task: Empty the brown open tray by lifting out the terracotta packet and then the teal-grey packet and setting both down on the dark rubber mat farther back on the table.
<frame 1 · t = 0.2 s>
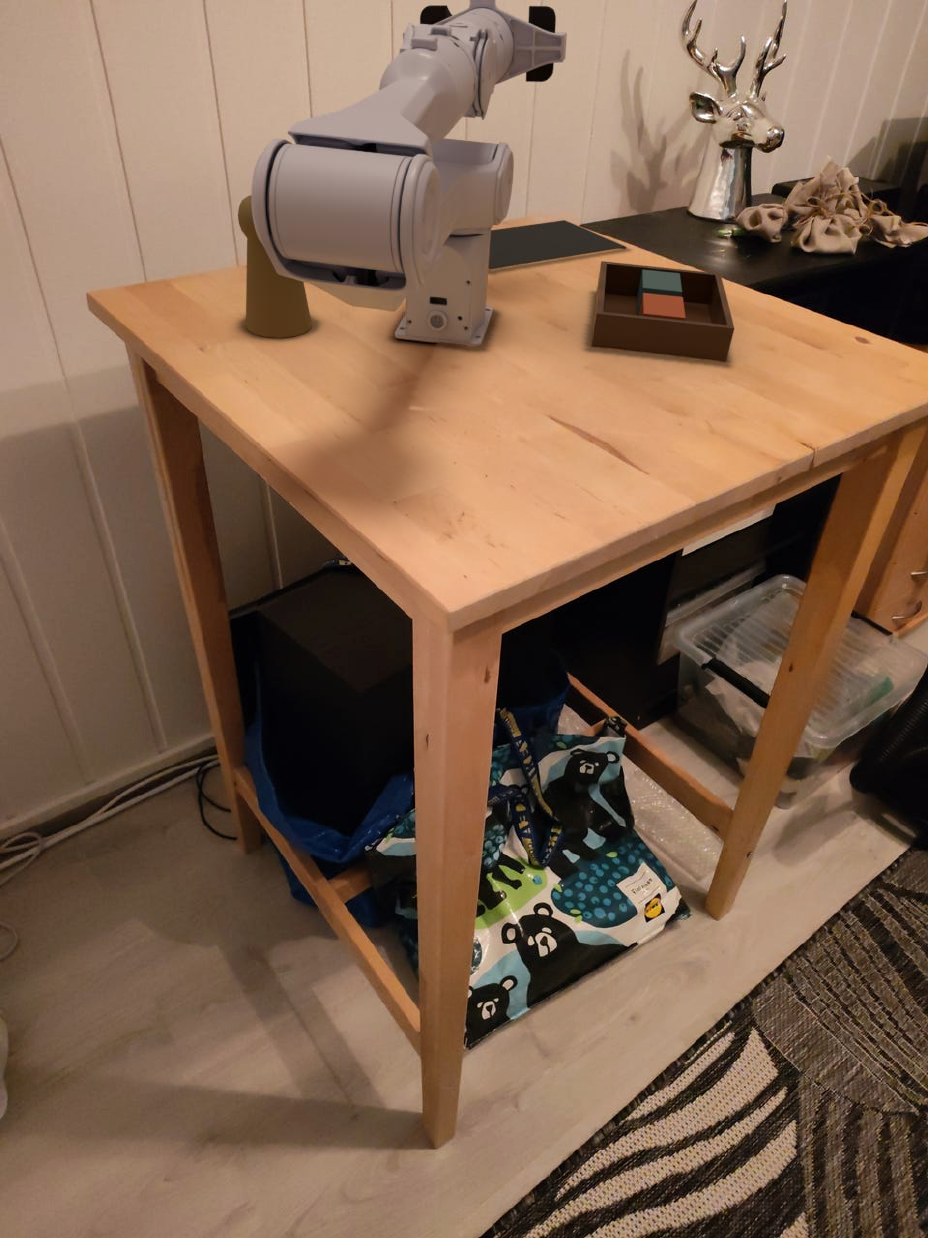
hand: (500, 34, 81), 21 cm above the table, tool horizontal, fingers open, 7 cm apart
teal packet: (655, 310, 84), resting on brown open tray
terracotta packet: (657, 336, 79), resting on brown open tray
cork: (279, 326, 77), on the table
brown open tray: (655, 326, 82), on the table
mat: (530, 245, 100), on the table
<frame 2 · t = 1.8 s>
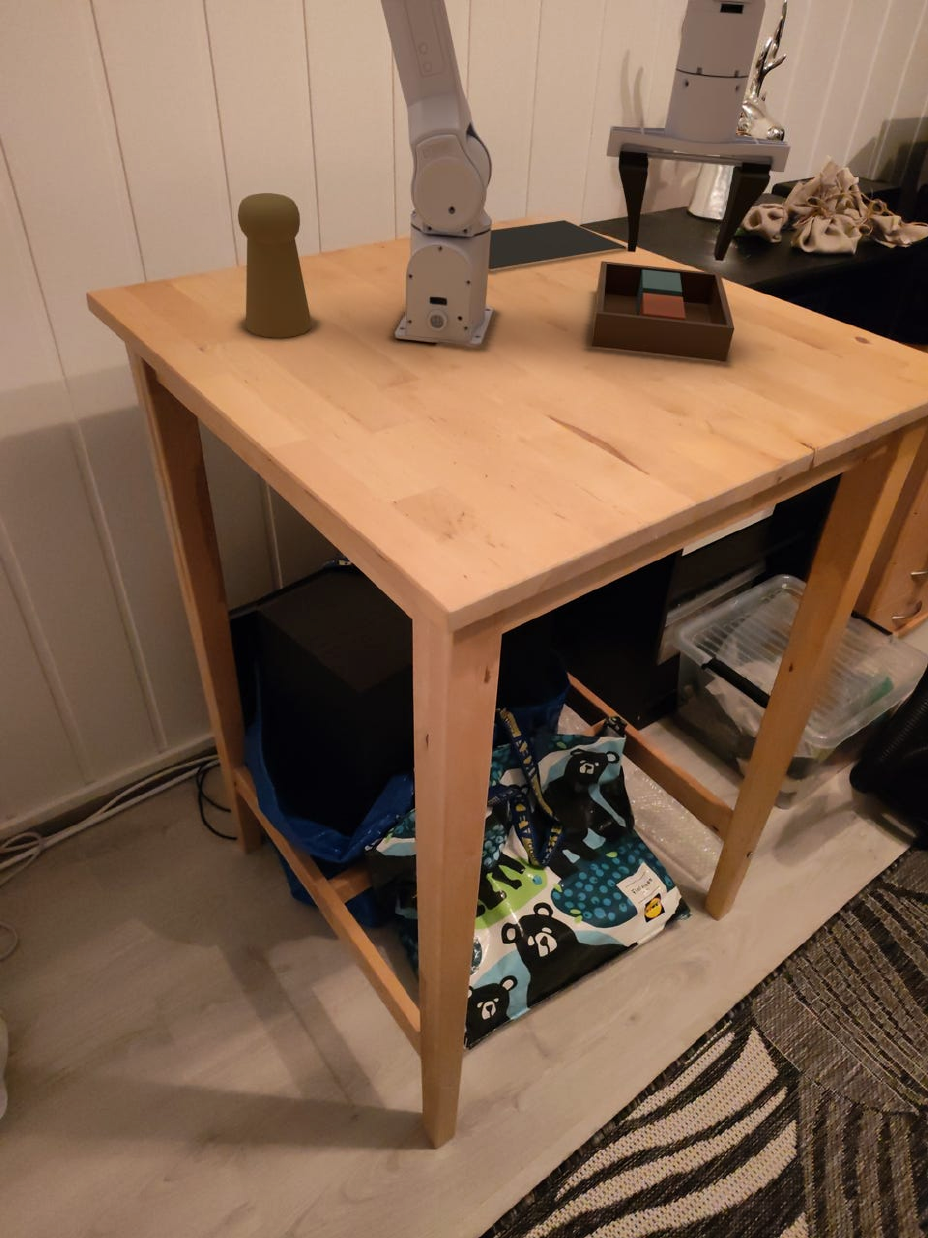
hand: (674, 252, 74), 8 cm above the table, tool pointing down, fingers open, 7 cm apart
nothing on the table moved.
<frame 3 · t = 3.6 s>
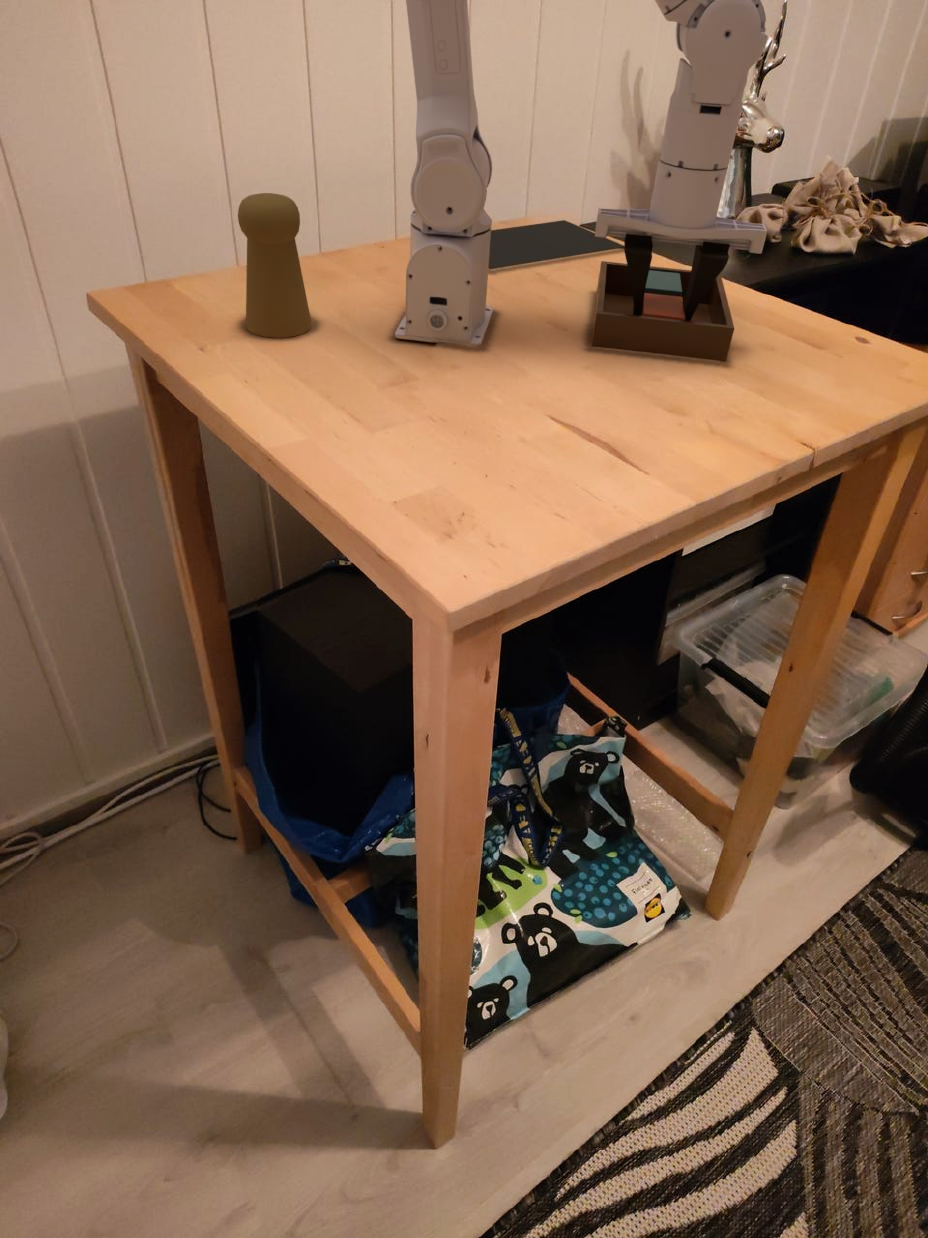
hand: (659, 323, 78), 2 cm above the table, tool pointing down, fingers closed on terracotta packet, 4 cm apart
terracotta packet: (656, 336, 79), resting on brown open tray, touching gripper
everything else where it was.
when the fingers open (2 cm above the table, at t = 8.4 s): terracotta packet stays where it is, resting on mat.
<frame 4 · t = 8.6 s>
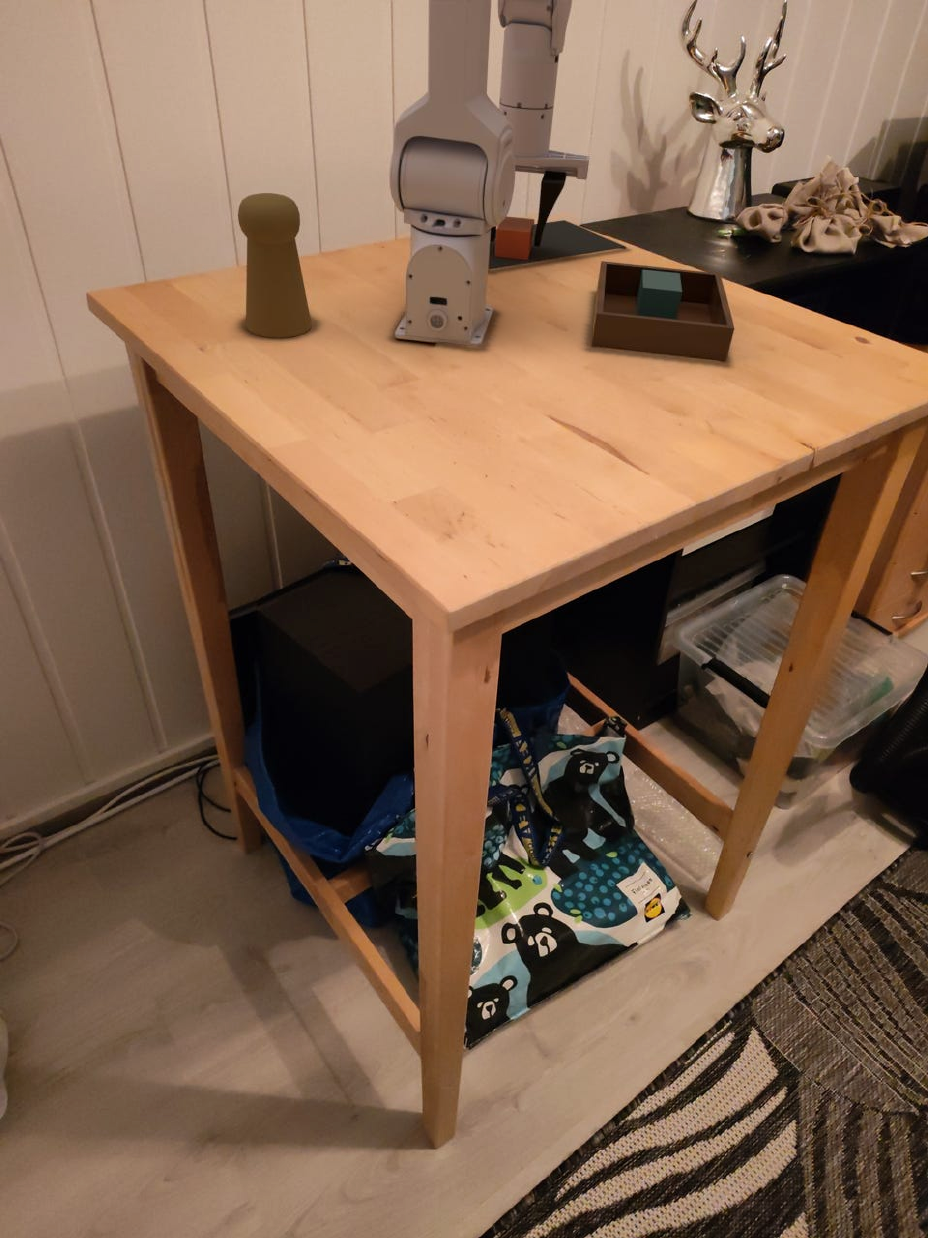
hand: (514, 241, 96), 2 cm above the table, tool pointing down, fingers open, 5 cm apart
terracotta packet: (513, 251, 96), resting on mat
everything else where it was.
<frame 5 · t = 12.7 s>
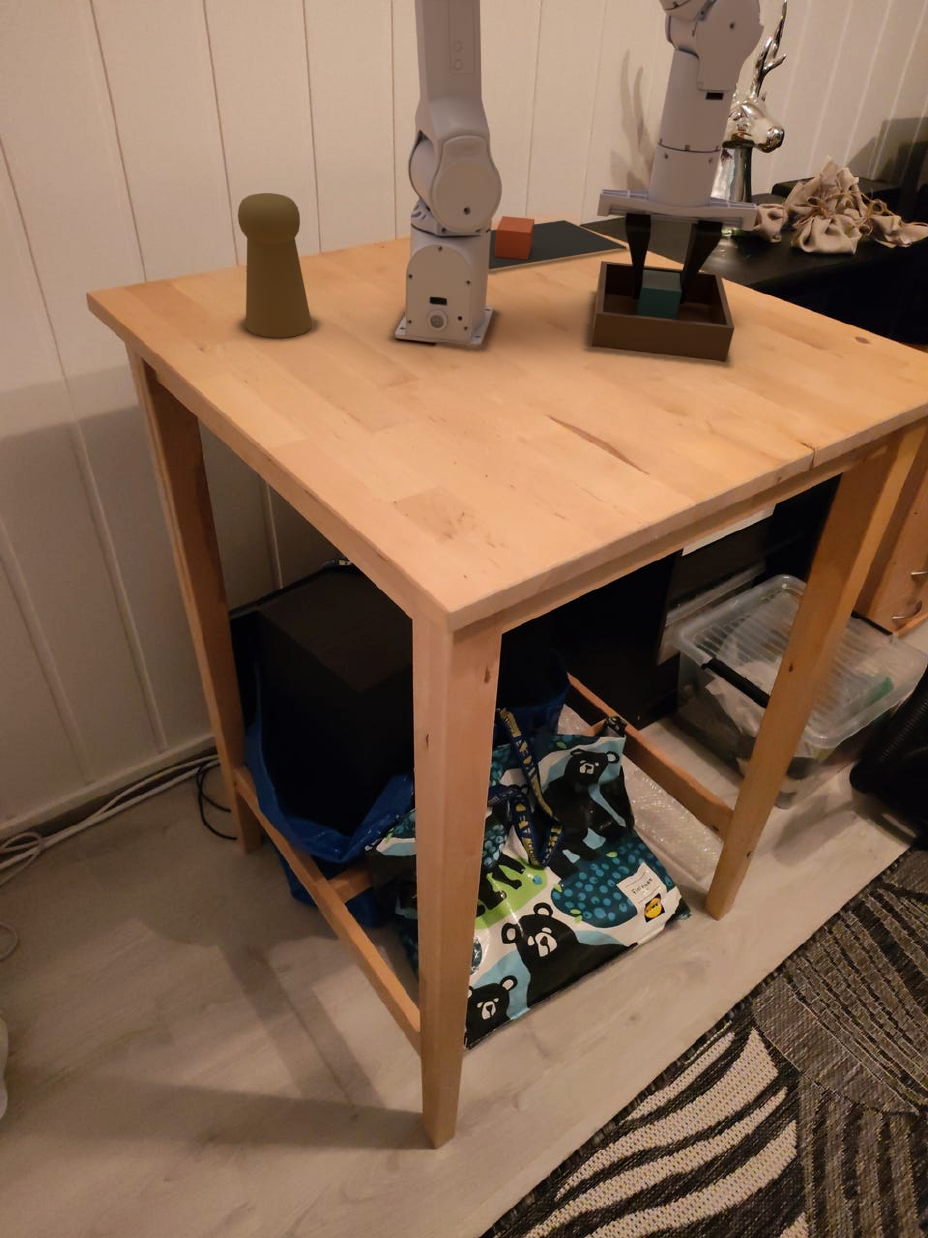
hand: (658, 298, 84), 2 cm above the table, tool pointing down, fingers closed on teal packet, 4 cm apart
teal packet: (655, 310, 84), resting on brown open tray, touching gripper
everything else where it was.
when the fingers open (2 cm above the table, at t = 17.2 s): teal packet stays where it is, resting on mat.
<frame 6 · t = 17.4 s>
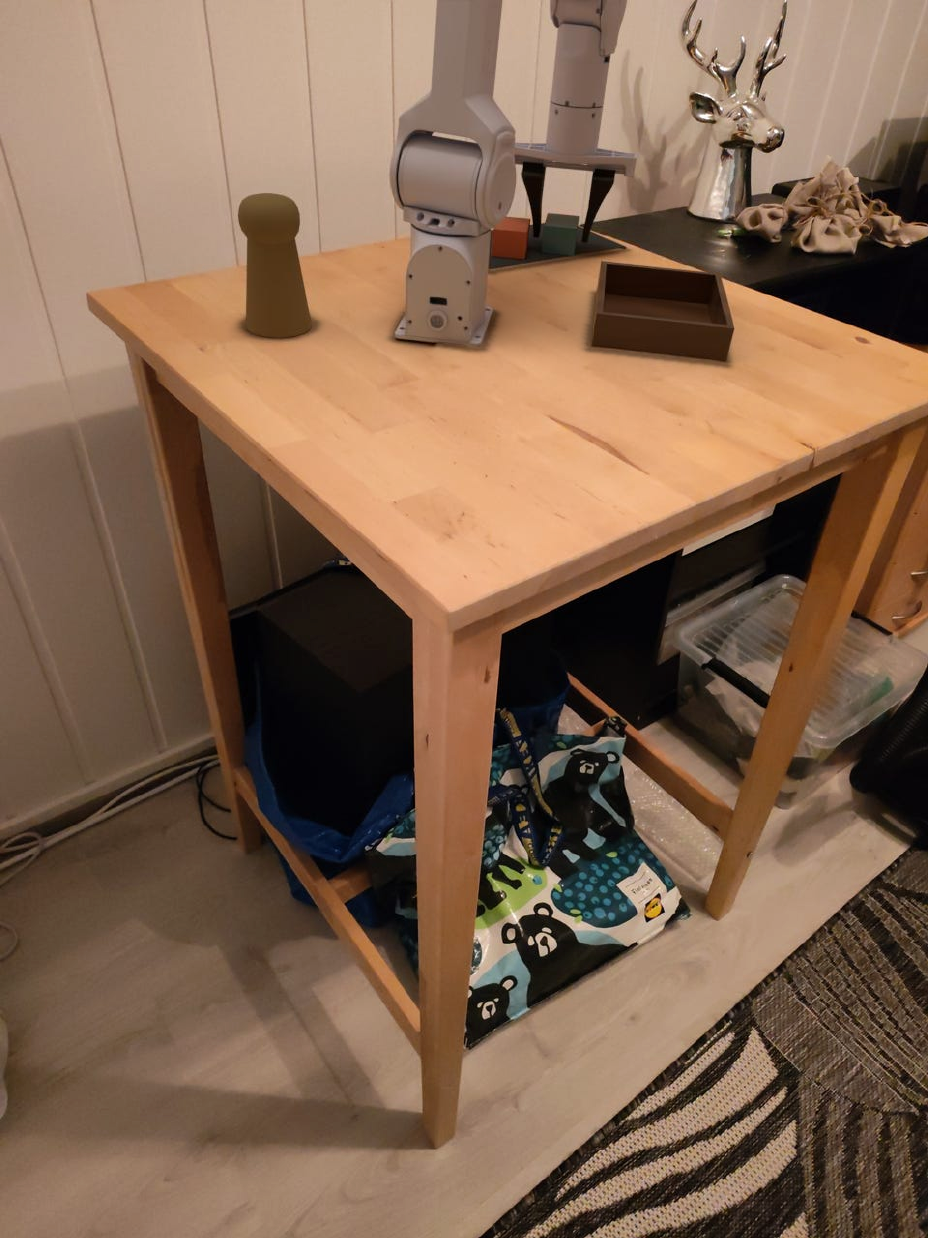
hand: (560, 237, 98), 2 cm above the table, tool pointing down, fingers open, 5 cm apart
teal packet: (559, 247, 99), resting on mat
terracotta packet: (509, 250, 96), resting on mat, touching gripper
everything else where it was.
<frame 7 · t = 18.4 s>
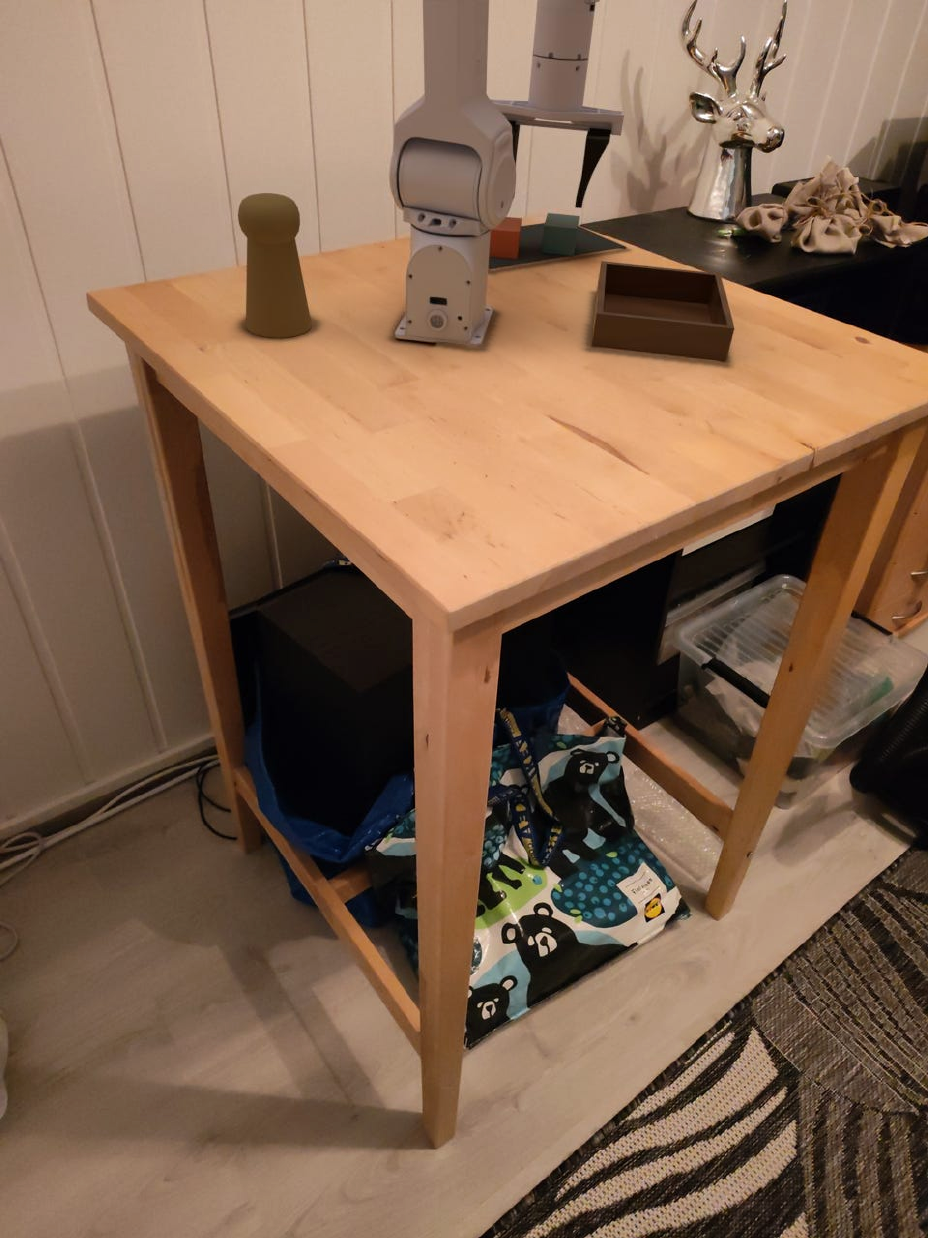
hand: (544, 201, 93), 6 cm above the table, tool pointing down, fingers open, 7 cm apart
terracotta packet: (502, 250, 96), resting on mat
everything else where it was.
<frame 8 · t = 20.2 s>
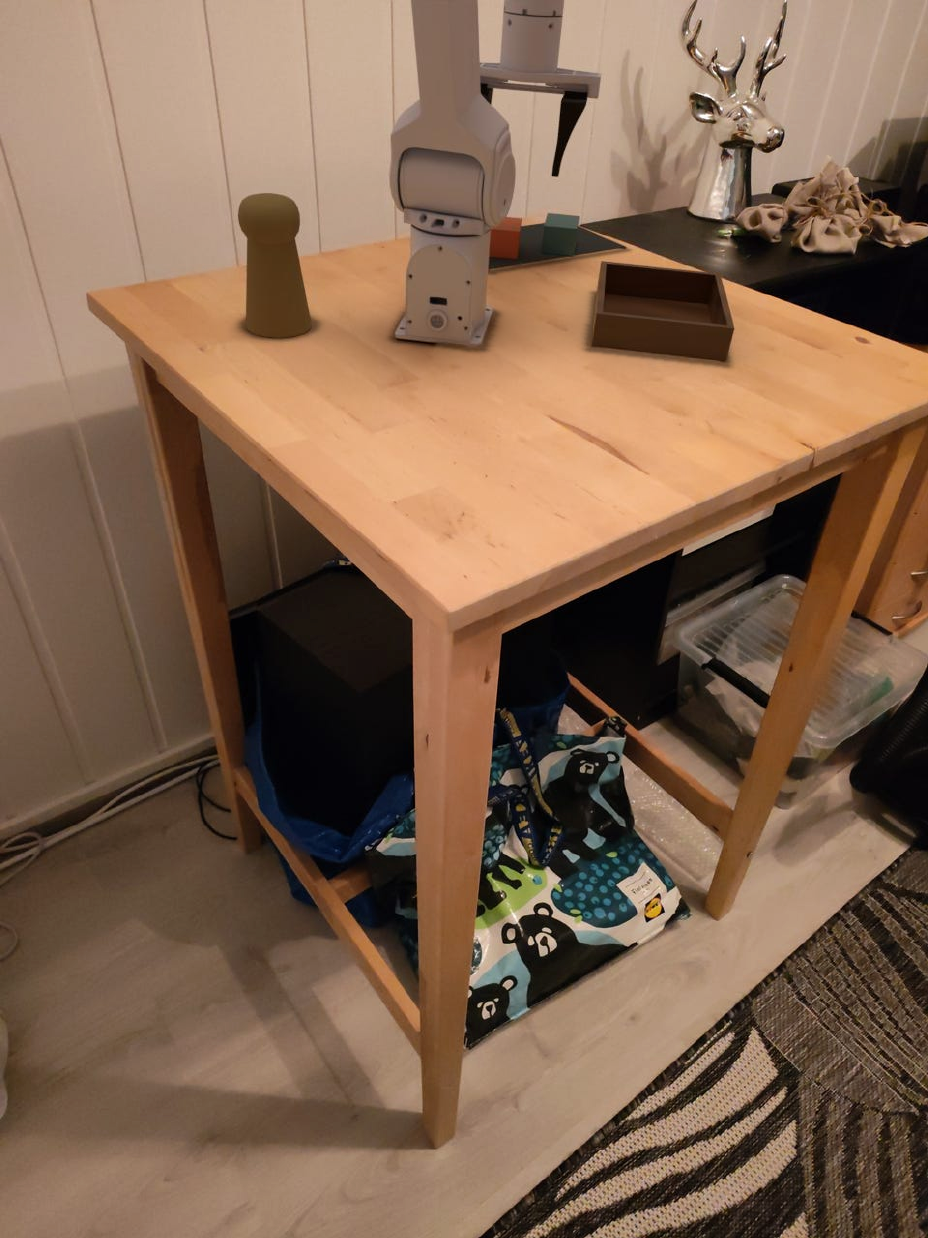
hand: (519, 170, 88), 9 cm above the table, tool pointing down, fingers open, 7 cm apart
nothing on the table moved.
at the end: terracotta packet inside the target area on the mat (5.2 cm from its centre), point 0.4 cm above the mat's base; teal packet inside the target area on the mat (3.6 cm from its centre), point 0.4 cm above the mat's base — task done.
